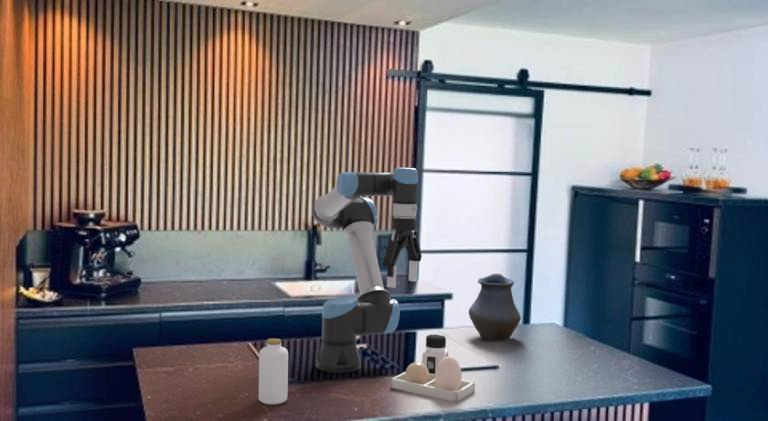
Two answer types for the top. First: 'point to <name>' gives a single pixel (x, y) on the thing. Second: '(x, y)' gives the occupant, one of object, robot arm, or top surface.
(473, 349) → the top surface
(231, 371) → the top surface
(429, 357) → the container
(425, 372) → the beige ball
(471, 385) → the tray
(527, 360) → the top surface
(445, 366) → the egg
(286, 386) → the white bottle
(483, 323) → the dark clay urn
